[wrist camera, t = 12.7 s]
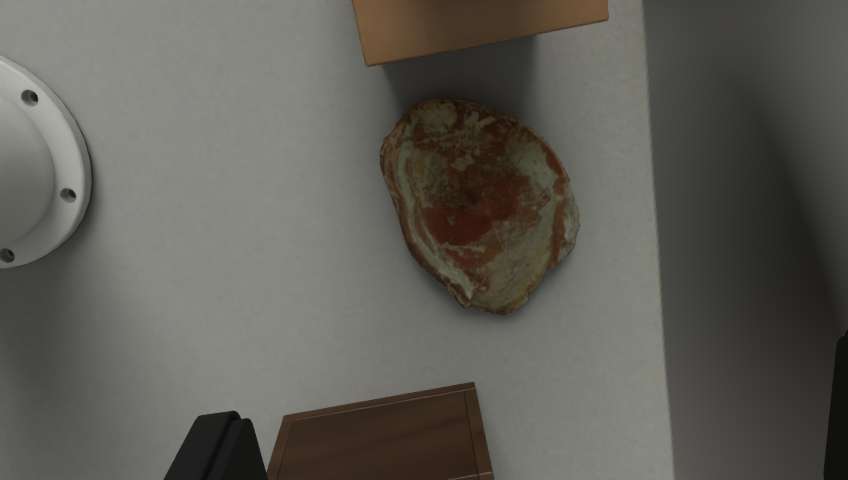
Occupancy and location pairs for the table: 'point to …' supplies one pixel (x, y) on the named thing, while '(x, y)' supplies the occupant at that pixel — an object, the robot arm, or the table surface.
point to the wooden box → (387, 440)
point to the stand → (461, 23)
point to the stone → (479, 201)
